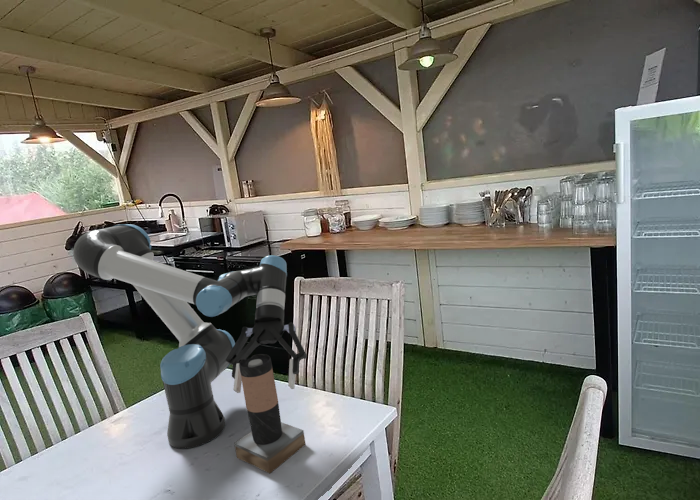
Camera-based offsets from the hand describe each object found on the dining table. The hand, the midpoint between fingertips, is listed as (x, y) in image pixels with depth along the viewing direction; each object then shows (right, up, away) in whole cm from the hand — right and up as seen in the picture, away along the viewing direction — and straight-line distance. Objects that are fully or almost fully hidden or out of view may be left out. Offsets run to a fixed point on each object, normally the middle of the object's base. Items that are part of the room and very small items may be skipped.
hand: (263, 389), depth 107 cm
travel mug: (+1, -12, +3) cm, 13 cm away
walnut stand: (+1, -16, +3) cm, 16 cm away
